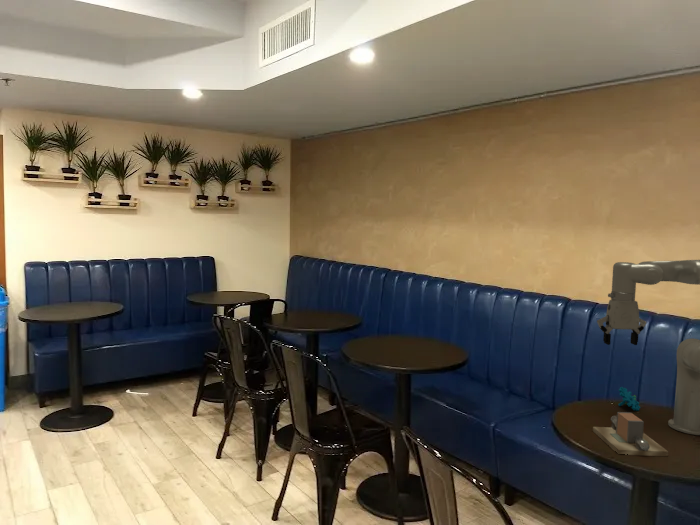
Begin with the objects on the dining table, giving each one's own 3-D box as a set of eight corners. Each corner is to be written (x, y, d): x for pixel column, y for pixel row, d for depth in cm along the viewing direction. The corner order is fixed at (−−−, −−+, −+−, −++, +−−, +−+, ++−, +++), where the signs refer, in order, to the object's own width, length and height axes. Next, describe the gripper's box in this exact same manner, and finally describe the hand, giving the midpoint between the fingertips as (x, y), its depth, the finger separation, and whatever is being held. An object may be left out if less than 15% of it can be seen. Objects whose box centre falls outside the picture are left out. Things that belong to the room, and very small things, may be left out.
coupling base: (637, 432, 178) (637, 423, 177) (667, 456, 160) (668, 445, 159) (592, 431, 178) (593, 421, 178) (618, 454, 160) (619, 444, 160)
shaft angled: (616, 425, 179) (617, 415, 179) (624, 431, 174) (625, 421, 173) (609, 425, 179) (610, 414, 179) (617, 431, 174) (618, 420, 173)
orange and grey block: (642, 443, 165) (643, 421, 164) (628, 442, 165) (629, 421, 164) (629, 433, 173) (630, 412, 172) (615, 432, 173) (617, 412, 172)
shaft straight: (640, 443, 164) (641, 436, 164) (649, 450, 159) (649, 443, 159) (632, 443, 164) (633, 436, 164) (641, 450, 159) (641, 442, 159)
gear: (634, 410, 194) (617, 386, 200) (621, 418, 198) (605, 394, 203) (646, 408, 201) (629, 385, 207) (633, 415, 205) (617, 392, 210)
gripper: (604, 298, 182) (601, 346, 183) (653, 298, 182) (650, 346, 183) (594, 295, 189) (591, 341, 191) (641, 295, 189) (638, 342, 191)
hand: (620, 344), depth 187 cm, fingers open, 9 cm apart
